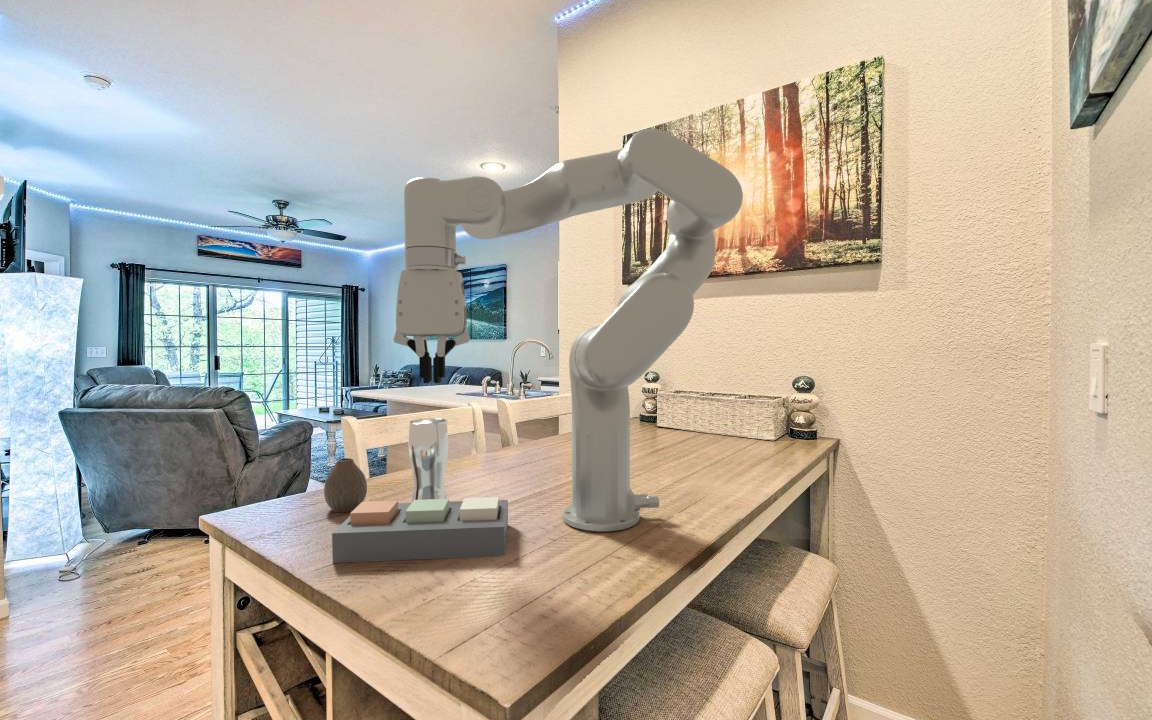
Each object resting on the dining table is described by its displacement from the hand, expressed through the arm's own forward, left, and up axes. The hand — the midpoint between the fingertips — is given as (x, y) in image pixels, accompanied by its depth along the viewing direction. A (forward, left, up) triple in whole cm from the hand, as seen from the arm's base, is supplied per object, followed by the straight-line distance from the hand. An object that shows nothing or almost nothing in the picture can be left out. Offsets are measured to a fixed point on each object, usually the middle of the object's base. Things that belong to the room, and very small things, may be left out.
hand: (432, 382), depth 79 cm
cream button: (-8, +5, -22) cm, 23 cm away
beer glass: (+4, -14, -23) cm, 27 cm away
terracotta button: (+8, +5, -22) cm, 23 cm away
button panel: (0, +5, -23) cm, 24 cm away
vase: (+18, -12, -23) cm, 32 cm away
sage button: (0, +5, -22) cm, 22 cm away
